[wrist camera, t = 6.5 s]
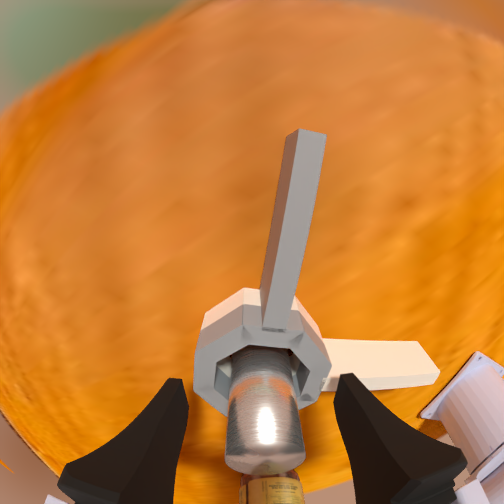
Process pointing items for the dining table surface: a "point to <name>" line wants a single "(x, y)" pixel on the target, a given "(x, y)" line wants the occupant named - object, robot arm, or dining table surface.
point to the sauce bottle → (271, 489)
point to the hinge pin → (263, 413)
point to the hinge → (296, 308)
